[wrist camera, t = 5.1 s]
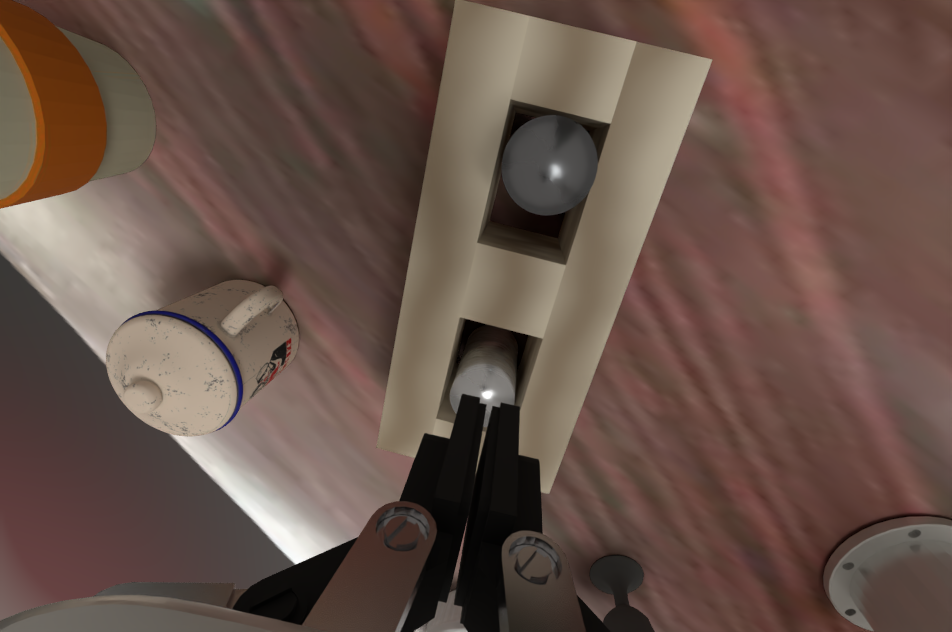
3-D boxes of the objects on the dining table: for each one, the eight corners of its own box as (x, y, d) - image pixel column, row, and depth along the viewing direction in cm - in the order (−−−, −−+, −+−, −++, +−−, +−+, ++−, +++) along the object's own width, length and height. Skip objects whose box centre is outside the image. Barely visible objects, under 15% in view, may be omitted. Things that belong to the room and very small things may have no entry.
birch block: (663, 84, 27) (712, 59, 20) (545, 424, 37) (548, 494, 29) (475, 39, 28) (455, -2, 20) (407, 388, 37) (376, 447, 30)
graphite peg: (588, 134, 25) (611, 128, 18) (567, 205, 26) (580, 225, 19) (519, 117, 25) (515, 104, 18) (502, 189, 26) (491, 202, 19)
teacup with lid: (260, 394, 39) (157, 487, 28) (180, 320, 37) (38, 389, 27) (348, 314, 35) (268, 386, 25) (263, 228, 34) (136, 265, 23)
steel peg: (523, 331, 33) (522, 379, 26) (510, 377, 35) (505, 434, 28) (472, 318, 33) (457, 363, 26) (461, 364, 35) (444, 417, 28)
